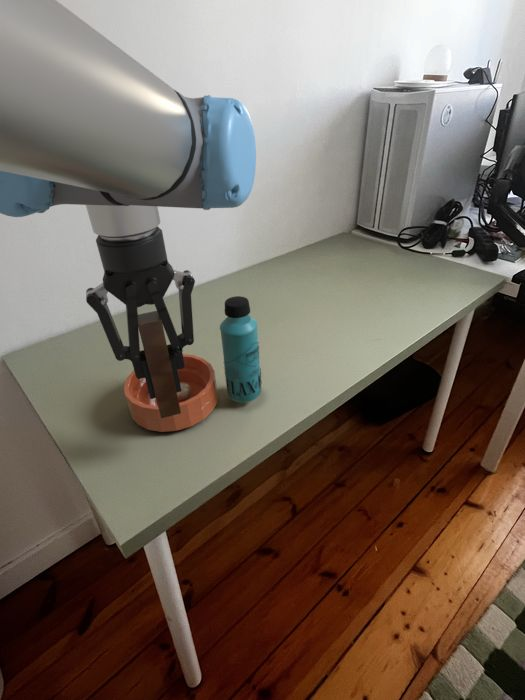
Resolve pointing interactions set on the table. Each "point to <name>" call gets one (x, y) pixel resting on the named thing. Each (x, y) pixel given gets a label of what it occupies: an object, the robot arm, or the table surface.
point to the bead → (184, 391)
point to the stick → (159, 363)
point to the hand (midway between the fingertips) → (164, 389)
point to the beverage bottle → (240, 351)
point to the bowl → (192, 409)
